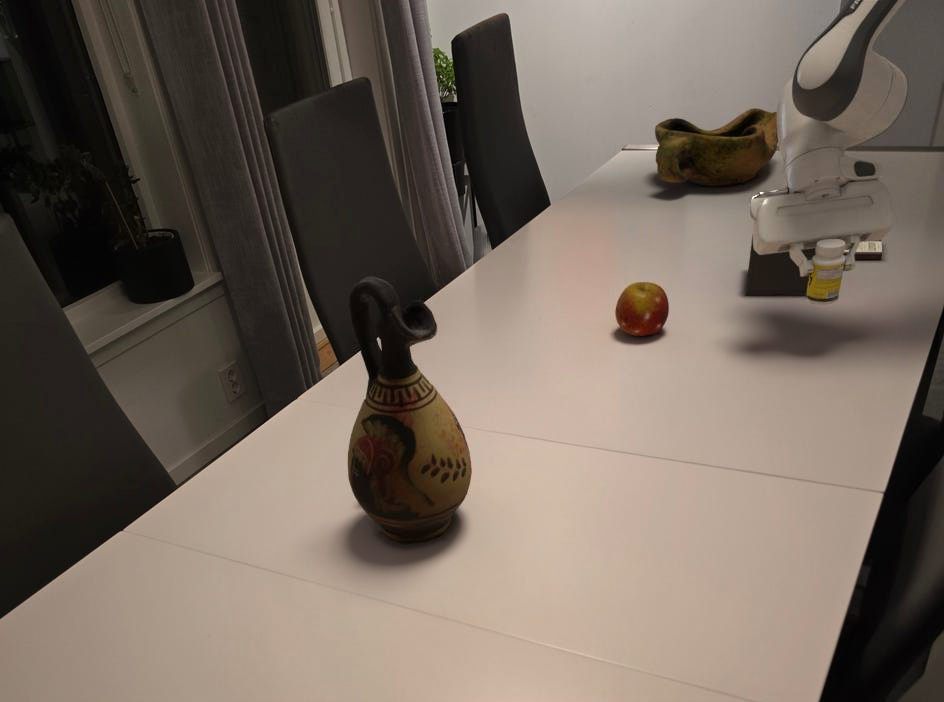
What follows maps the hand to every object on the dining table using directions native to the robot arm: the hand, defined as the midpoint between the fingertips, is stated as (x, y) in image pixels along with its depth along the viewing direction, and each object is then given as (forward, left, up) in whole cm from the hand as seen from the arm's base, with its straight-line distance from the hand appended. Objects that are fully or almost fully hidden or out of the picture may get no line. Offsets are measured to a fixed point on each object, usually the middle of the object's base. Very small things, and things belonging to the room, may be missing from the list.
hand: (828, 271), depth 126 cm
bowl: (+24, -105, -12) cm, 108 cm away
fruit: (+28, -7, -12) cm, 32 cm away
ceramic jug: (+49, +55, -12) cm, 75 cm away
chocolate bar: (-4, -48, -12) cm, 49 cm away
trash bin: (+5, -31, -12) cm, 33 cm away
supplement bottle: (0, -1, -5) cm, 5 cm away
